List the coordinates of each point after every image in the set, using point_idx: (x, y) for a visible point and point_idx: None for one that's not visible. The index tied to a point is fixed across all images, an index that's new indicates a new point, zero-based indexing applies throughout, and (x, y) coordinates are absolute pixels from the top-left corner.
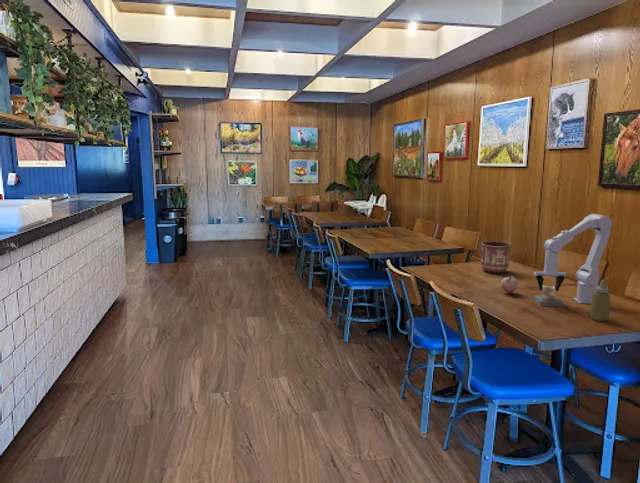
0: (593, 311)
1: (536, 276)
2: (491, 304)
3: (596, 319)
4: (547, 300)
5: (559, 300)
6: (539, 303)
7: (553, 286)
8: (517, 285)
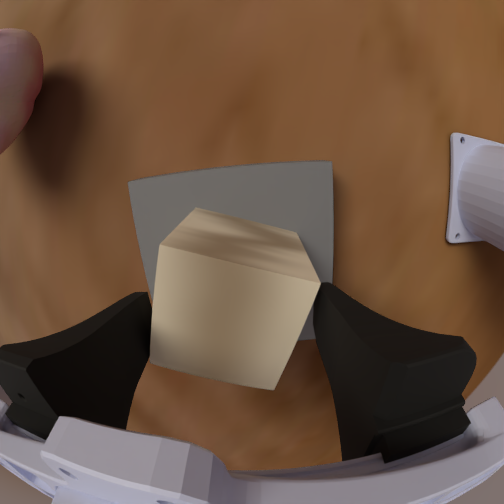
0: None
1: (23, 404)
2: (3, 324)
3: None
4: None
5: None
6: None
7: (299, 290)
8: (19, 88)
